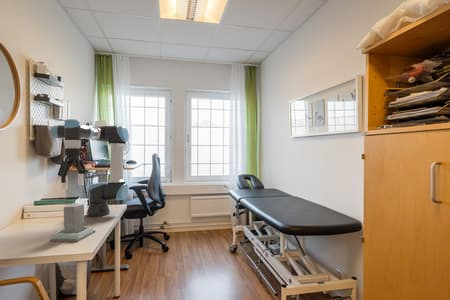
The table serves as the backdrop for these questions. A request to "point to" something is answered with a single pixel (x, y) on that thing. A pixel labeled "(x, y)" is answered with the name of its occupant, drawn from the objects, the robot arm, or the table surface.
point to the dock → (71, 235)
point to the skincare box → (74, 219)
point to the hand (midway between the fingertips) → (73, 187)
